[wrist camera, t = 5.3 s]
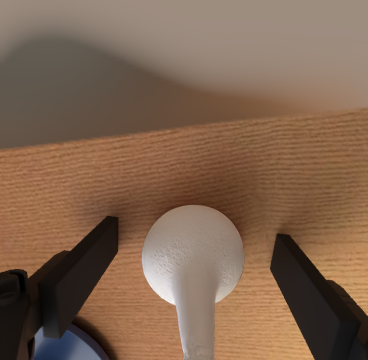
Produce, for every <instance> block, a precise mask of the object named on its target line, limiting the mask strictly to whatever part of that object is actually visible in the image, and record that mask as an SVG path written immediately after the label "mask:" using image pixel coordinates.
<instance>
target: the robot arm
mask: <svg viewBox="0 0 368 360" xmlns="http://www.w3.org/2000/svg"><path fill="white" fill-rule="evenodd" d="M117 252H118V217H115V216H107V217H106V218H104V219H103V220H102V221H101V222H100V223H99V224H98V225H97V226H96V227H95V228H94V229H93V230H92V231H91V232H90V233H89V234H88V235H87V236H86V237H85V238H84V239H83V240H81V241H80V242H79V243H78V244H77V245H76V246H75V247H74V248H73V249H72V250H71V251H65V250H64V251H62V252H60V253H58V254H56V255H54V256H53V257H52V258H51V259H50V260H49V261H48V262H47V263H45V264H44V265H43V266H42V267H41V268H40V269H38V270H37V271H36V272H35V273H34V274H33V275H32V276H30V277H29V278H28V276H27V272H26V271H24V270H21V269H14V270H8V271H5V272H1V273H0V360H33V358H34V350H35V334H36V333H37V332H38V331H39V329H40V328H41V327H42V331H43V337H47V338H55V339H61V337H62V336H63V334H64V333H65V331H66V330H67V328H68V327H69V325H70V324H71V322H72V321H73V319H74V318H75V316H76V315H77V313H78V312H79V310H80V309H81V307H82V306H83V304H84V303H85V301H86V299H87V298H88V296H89V295H90V293H91V292H92V290H93V289H94V287H95V286H96V284H97V283H98V281H99V280H100V278H101V277H102V275H103V274H104V272H105V271H106V269H107V268H108V266H109V265H110V263H111V261H112V260H113V258H114V257H115V255H116V254H117ZM270 270H271V272H272V274H273V276H274V278H275V280H276V282H277V284H278V286H279V288H280V290H281V292H282V294H283V296H284V298H285V300H286V302H287V304H288V306H289V308H290V310H291V312H292V314H293V316H294V318H295V321H296V323H297V325H298V327H299V329H300V331H301V333H302V335H303V337H304V339H305V341H306V343H307V345H308V347H309V349H310V351H311V353H312V355H313V357H314V359H315V360H368V316H367V315H366V314H365V312H364V311H363V310H362V309H361V308H360V307H359V306H358V305H357V303H356V302H355V301H354V300H353V299H352V298H350V296H349V294H348V293H347V292H346V291H345V290H344V289H343V288H342V287H341V286H339V285H338V284H337V283H335V282H334V281H333V280H326V279H325V278H324V277H323V275H322V274H321V273H320V272H319V271H318V269H317V268H316V267H315V266H314V265H313V263H312V262H311V261H310V260H309V258H308V257H307V256H306V255H305V254H304V252H303V251H302V250H301V249H300V248H299V246H298V245H297V244H296V243H295V241H294V240H293V239H292V238H291V237H290V235H287V234H277V237H276V242H275V247H274V252H273V257H272V262H271V267H270Z"/></svg>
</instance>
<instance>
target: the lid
mask: <svg viewBox="0 0 368 360" xmlns="http://www.w3.org/2000/svg"><path fill="white" fill-rule="evenodd" d="M33 360H109V358H108V356H107V355H106V353H105V352H104V351H103V349H102V348H101V347H100V346H99V345H98V344H97V343H96V342H95V341H94V339H92V338H91V337H90V336H89V335H88V334H86V333H85V332H84V331H82V330H81V329H79V328H78V327H76V326H75V325H73V324H70V325H69V327H68V328H67V330H66V331H65V333H64V334H63V336H62V337H61V339H55V338H47V337H43V331H42V327H41V328H40V329H39V331H38V332H37V333H36V334H35V350H34V358H33Z"/></svg>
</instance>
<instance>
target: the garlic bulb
mask: <svg viewBox="0 0 368 360" xmlns="http://www.w3.org/2000/svg"><path fill="white" fill-rule="evenodd" d="M244 260H245V253H244V246H243V242H242V239H241V236H240V234H239V232H238V231H237V229H236V227H235V226H234V225H233V223H232V222H231V221H230V220H229V218H227V217H226V216H225V215H223V214H222V213H221V212H219V211H217V210H215V209H213V208H210V207H207V206H203V205H186V206H180V207H177V208H174V209H172V210H170V211H168V212H166V213H165V214H163V215H162V216H161V217H160V218H159V219H158V220H157V221H156V222H155V223H154V224H153V225H152V227H151V228H150V230H149V232H148V234H147V236H146V238H145V241H144V245H143V250H142V266H143V271H144V275H145V277H146V279H147V281H148V283H149V285H150V286H151V287H152V289H153V290H154V291H155V292H156V293H157V294H158V295H159V296H160V297H161V298H163V299H164V300H166V301H167V302H169V303H171V304H174V305H176V309H177V315H178V322H179V331H180V338H181V342H182V347H183V352H184V357H183V360H215V359H214V338H215V337H214V313H215V303H217V302H219V301H221V300H222V299H224V298H225V297H226V296H227V295H228V294H229V293H230V292H231V291H232V290H233V289H234V288H235V286H236V285H237V283H238V281H239V279H240V277H241V274H242V271H243V267H244Z"/></svg>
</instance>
